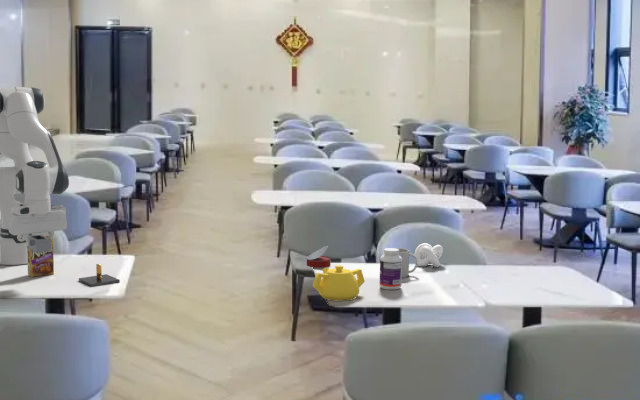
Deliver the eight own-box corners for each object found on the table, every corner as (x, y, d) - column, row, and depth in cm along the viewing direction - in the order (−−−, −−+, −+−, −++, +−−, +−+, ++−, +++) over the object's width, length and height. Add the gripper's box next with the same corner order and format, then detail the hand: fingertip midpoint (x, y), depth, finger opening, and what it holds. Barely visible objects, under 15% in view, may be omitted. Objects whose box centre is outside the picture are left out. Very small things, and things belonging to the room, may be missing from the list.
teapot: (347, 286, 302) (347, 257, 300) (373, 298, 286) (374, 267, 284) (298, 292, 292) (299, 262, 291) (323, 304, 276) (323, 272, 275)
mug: (381, 274, 321) (381, 249, 319) (396, 271, 327) (397, 246, 326) (402, 279, 313) (403, 254, 312) (418, 276, 320) (419, 250, 318)
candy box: (30, 277, 308) (29, 237, 306) (27, 275, 312) (26, 235, 309) (54, 274, 313) (53, 235, 311) (51, 272, 316) (50, 233, 314)
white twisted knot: (429, 261, 347) (430, 240, 346) (450, 266, 337) (451, 245, 336) (410, 264, 340) (411, 243, 339) (431, 270, 331) (431, 248, 329)
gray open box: (26, 247, 297) (26, 236, 297) (41, 246, 301) (41, 234, 300) (35, 252, 290) (35, 240, 290) (51, 250, 294) (51, 238, 293)
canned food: (324, 279, 333) (321, 260, 327) (303, 273, 337) (299, 254, 332) (337, 262, 340) (334, 243, 335) (316, 256, 345) (313, 238, 339)
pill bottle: (383, 284, 306) (384, 246, 304) (403, 286, 303) (405, 248, 301) (376, 289, 298) (377, 250, 296) (397, 291, 295) (399, 252, 293)
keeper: (78, 280, 304) (78, 263, 303) (106, 276, 311) (106, 260, 310) (91, 286, 295) (91, 269, 294) (119, 282, 302) (119, 265, 301)
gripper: (62, 203, 302) (63, 239, 304) (6, 208, 289) (7, 246, 291) (69, 205, 297) (70, 242, 300) (12, 210, 284) (13, 249, 287)
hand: (38, 244), depth 295 cm, fingers closed on gray open box, 6 cm apart
